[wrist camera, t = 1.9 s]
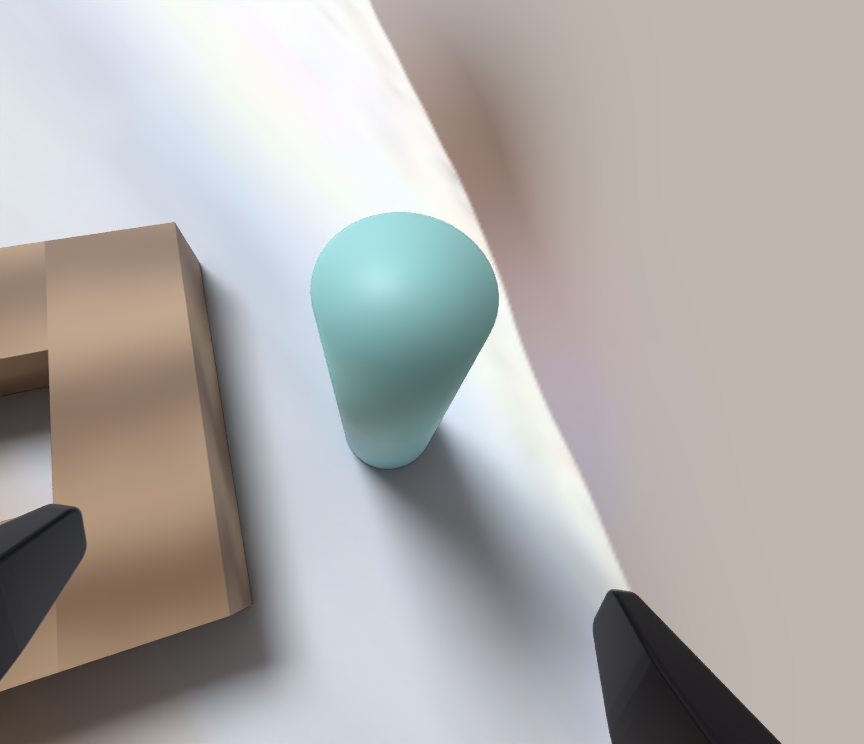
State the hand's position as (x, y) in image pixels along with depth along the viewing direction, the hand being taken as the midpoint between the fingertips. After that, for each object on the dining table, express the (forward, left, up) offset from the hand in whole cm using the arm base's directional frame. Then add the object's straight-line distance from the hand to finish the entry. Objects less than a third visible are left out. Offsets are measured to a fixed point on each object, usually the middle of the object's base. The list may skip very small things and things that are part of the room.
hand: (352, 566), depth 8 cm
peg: (+5, -1, -12) cm, 13 cm away
